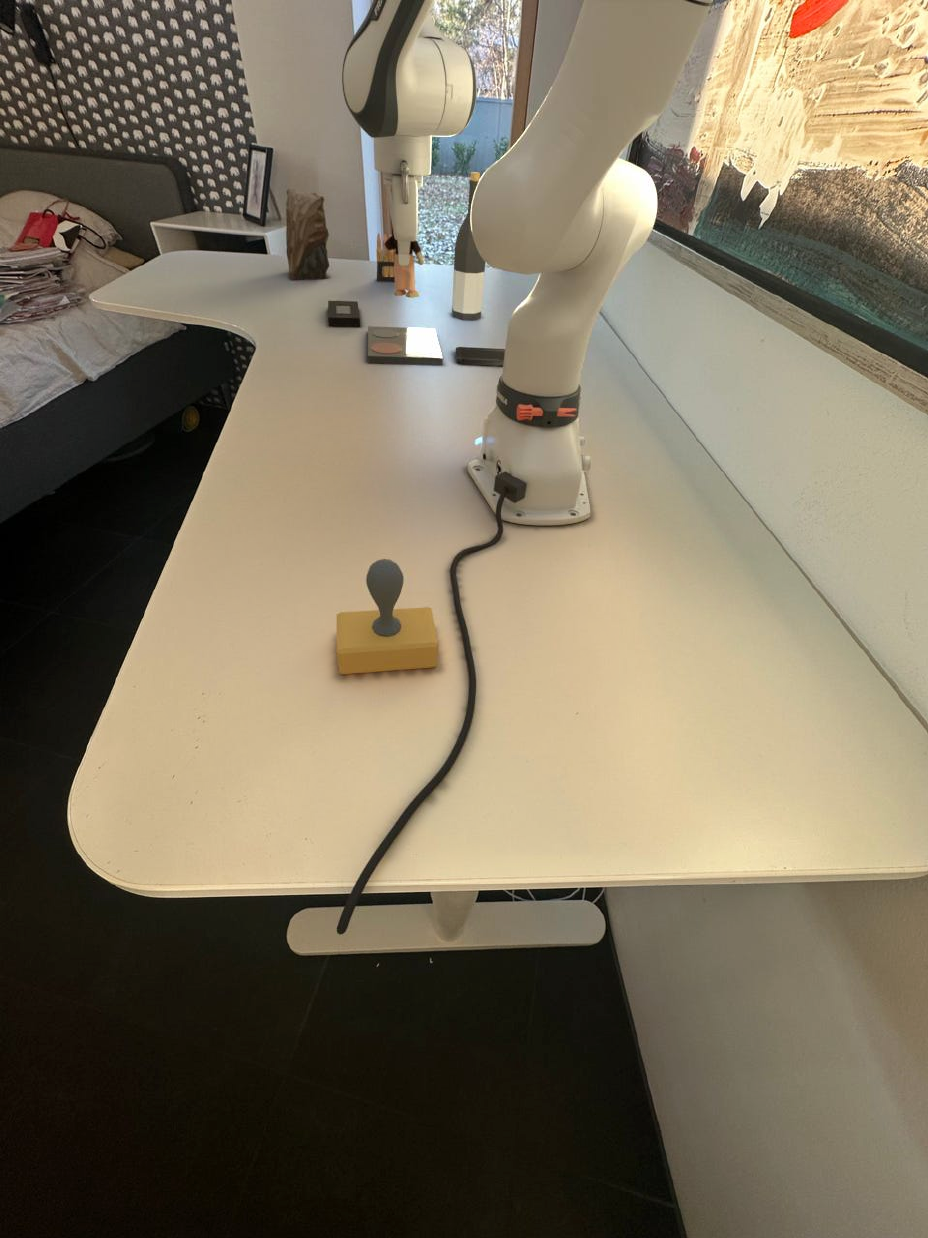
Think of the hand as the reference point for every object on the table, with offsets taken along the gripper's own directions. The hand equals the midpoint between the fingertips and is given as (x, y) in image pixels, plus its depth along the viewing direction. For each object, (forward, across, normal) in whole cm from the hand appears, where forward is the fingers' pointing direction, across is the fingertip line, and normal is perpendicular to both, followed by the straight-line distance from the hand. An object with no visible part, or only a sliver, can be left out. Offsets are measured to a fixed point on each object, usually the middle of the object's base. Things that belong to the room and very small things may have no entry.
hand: (402, 261), depth 95 cm
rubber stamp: (+21, -72, +5) cm, 76 cm away
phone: (+21, +16, -20) cm, 33 cm away
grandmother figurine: (+5, 0, 0) cm, 5 cm away
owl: (+22, +83, +26) cm, 89 cm away
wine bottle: (+22, +48, -19) cm, 57 cm away
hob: (+21, +22, -1) cm, 30 cm away
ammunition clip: (+22, +82, -1) cm, 84 cm away
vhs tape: (+22, +43, +13) cm, 50 cm away
